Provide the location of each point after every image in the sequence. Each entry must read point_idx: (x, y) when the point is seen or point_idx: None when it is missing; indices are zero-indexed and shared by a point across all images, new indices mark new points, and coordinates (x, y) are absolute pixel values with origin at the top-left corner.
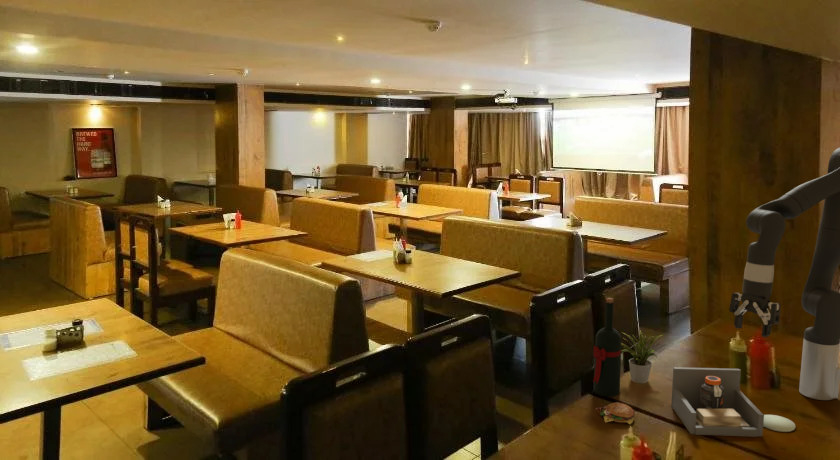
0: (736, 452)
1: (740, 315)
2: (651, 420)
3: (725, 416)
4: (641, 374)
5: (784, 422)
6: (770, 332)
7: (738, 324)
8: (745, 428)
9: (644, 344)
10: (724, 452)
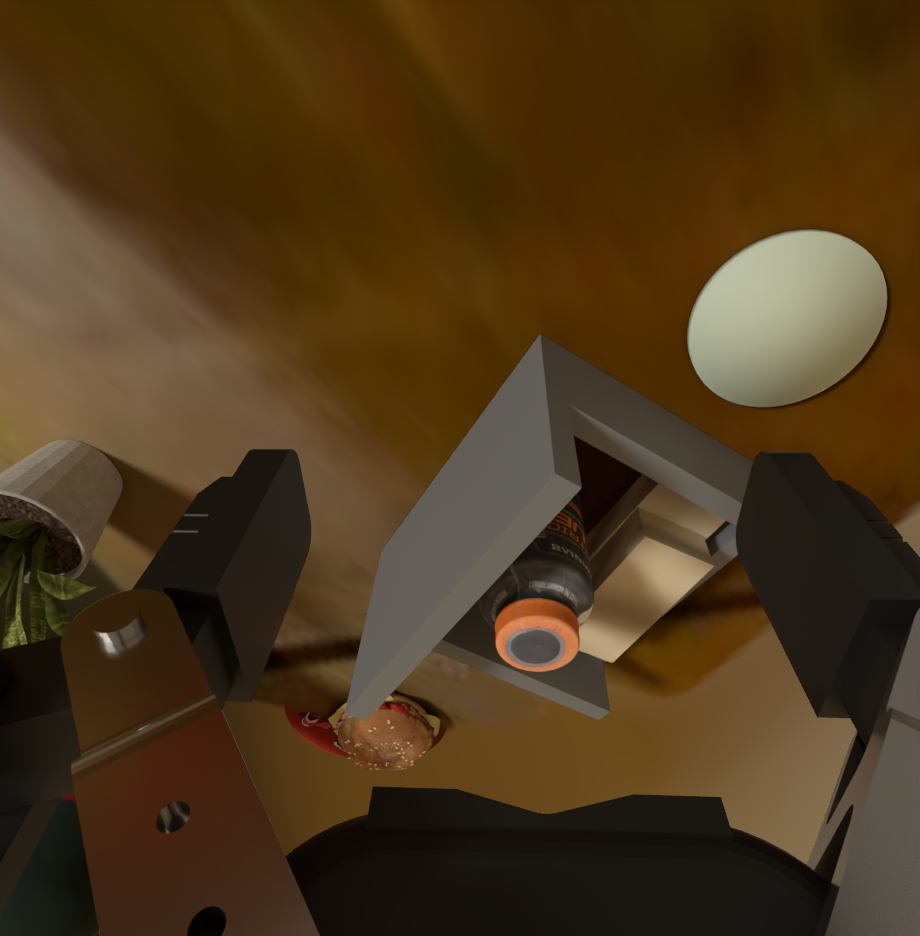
0: (765, 630)
1: (216, 667)
2: (447, 667)
3: (667, 609)
4: (103, 529)
5: (821, 293)
6: (879, 516)
7: (290, 564)
8: (736, 547)
9: None
10: (736, 653)
